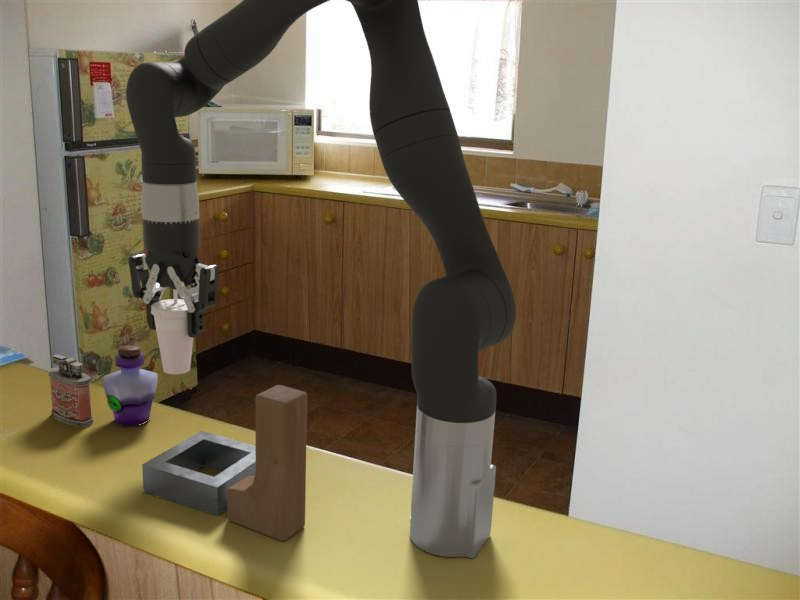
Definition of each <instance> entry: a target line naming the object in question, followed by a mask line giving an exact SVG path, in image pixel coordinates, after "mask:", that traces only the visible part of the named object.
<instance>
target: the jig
mask: <svg viewBox="0 0 800 600" xmlns="http://www.w3.org/2000/svg"><path fill="white" fill-rule="evenodd" d="M203 466H205V467H208V468H212V469H214V470H219V471H221V472H220V473H218V474H217V475H215V476H213V475H209V474H206V473H203V472H199V471H197V470H199V469H200V468H202V467H203ZM255 472H256V444H255V445H253V444H250V443H247V442H243V441H239V440H236V439H232V438H229V437H226V436H221V435H218V434H214V433H210V432H207V431H203V430H200V431H198V432H197V433H195V434H192V435H191V436H190V437H188V438H186V439H184V440H182V441H181V442H179V443H177V444H176V445H174V446H172V447H171V448H169V449H167V450H165V451H164V452H162V453H160V454H158V455H156V456H154V457H152V458H151V459H149V460H148V461H146V462H144V463H142V486H143V487H142V488H143V493H145V494H148V495H151V496H153V497H154V496H155V497H157V498H160V499H164V500H166V501H169V502H173V503H176V504H178V505H183V506H186V507H188V508H192V509H195V510H197V511H201V512H204V513H207V514H210V515H213V516H216V517H219V516H220V515H221V514H223V513H225V512H227V489H228V488H229V487H231V486H233V485H234V484H236V483H238V482H239V481H241V480H243V479H244V478H246V477H248V476H255Z"/></svg>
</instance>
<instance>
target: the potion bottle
mask: <svg viewBox="0 0 800 600" xmlns="http://www.w3.org/2000/svg"><path fill="white" fill-rule="evenodd" d="M141 351H142V349H141V347H140V346H138V345H130V344H129V345H122V346H119V347H118V349H117V353H116V354H115V359H114V360H115V367H118V368H120V370H117V371H114V372H111V373H109V374H106V375H104V376H103V380H102V386H103V389H104V393H105V397H106V402H107V405H108V408H109V409H110V410H111V412H112V414H113V417H114V425H117V426H120V427H123V428H132V427H134V428H135V426H136V427H140V426H139V424H142V423H144V422H146V421H147V422H148V420H149V417H150V418H151V411H152V405H153V400H155V396H156V393H157V387H158V382H159V381H158V378H159V377H158V375H159V374H158V373H157V372H154V371H150V370H146V369H143V368H140V367H141V366H143V365H145V357H144V352H141ZM149 421H150V422H151V419H150V420H149ZM148 423H149V422H148ZM143 425H144V424H142V425H141V426H143Z"/></svg>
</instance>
